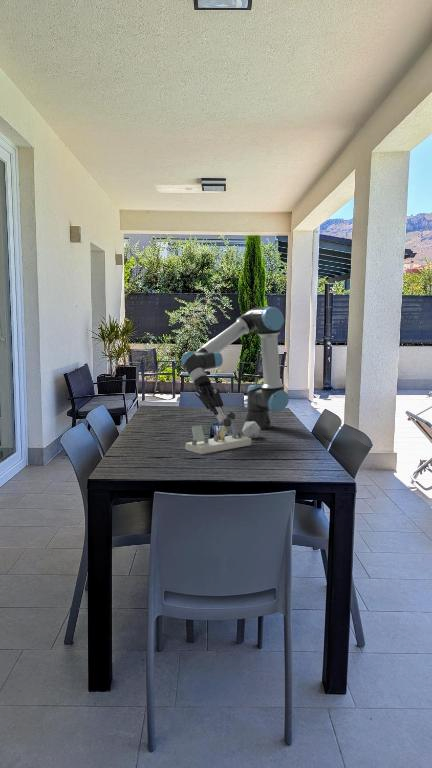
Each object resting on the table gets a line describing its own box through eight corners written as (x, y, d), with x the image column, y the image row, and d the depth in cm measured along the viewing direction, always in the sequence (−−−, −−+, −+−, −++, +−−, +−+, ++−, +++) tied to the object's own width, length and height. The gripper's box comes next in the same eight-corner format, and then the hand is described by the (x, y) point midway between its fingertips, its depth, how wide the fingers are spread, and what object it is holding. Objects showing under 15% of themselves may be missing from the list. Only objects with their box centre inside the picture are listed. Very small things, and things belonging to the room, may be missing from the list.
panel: (185, 449, 245) (185, 437, 244) (235, 440, 264) (235, 429, 264) (200, 454, 237) (201, 441, 236) (251, 444, 256) (251, 433, 256)
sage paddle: (194, 442, 242) (191, 427, 243) (203, 441, 245) (200, 425, 246) (196, 442, 241) (192, 426, 242) (205, 440, 244) (201, 425, 246)
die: (238, 438, 274) (242, 425, 267) (245, 427, 280) (248, 414, 273) (253, 445, 272) (257, 432, 266) (259, 434, 278) (264, 421, 272)
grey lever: (230, 437, 258) (224, 413, 260) (237, 436, 260) (230, 413, 263) (236, 434, 255) (229, 411, 257) (242, 433, 257) (235, 410, 260)
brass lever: (214, 436, 250) (222, 416, 244) (220, 435, 252) (229, 415, 247) (219, 442, 247) (228, 422, 242) (225, 441, 250) (234, 421, 244)
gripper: (208, 384, 264) (230, 423, 253) (185, 385, 255) (206, 426, 244) (215, 374, 260) (238, 413, 248) (192, 375, 251) (214, 416, 239)
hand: (222, 420), depth 246 cm, fingers closed
